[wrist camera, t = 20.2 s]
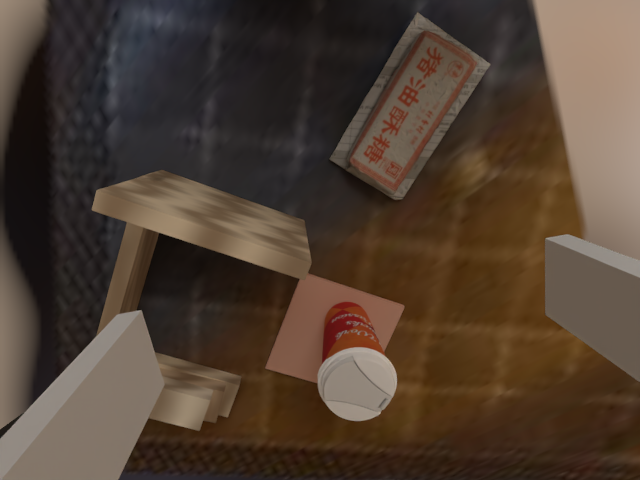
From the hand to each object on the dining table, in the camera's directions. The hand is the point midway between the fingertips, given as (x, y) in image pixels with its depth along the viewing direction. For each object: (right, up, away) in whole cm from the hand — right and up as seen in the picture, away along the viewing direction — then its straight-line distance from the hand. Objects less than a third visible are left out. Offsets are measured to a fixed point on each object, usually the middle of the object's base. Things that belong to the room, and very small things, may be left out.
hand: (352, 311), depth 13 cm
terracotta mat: (+1, -10, +39) cm, 40 cm away
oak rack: (-16, -5, +36) cm, 40 cm away
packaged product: (+9, +17, +33) cm, 38 cm away
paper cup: (+2, -8, +38) cm, 39 cm away
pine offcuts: (-19, -16, +39) cm, 46 cm away
